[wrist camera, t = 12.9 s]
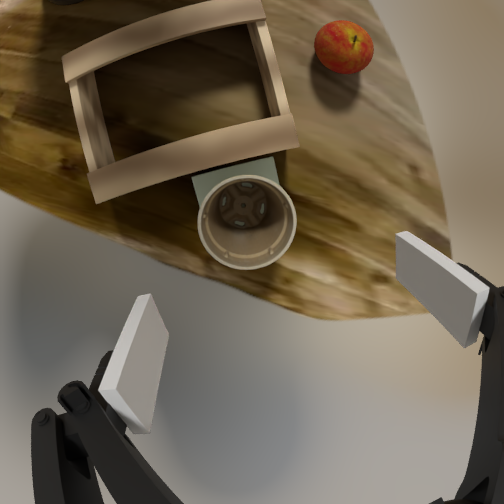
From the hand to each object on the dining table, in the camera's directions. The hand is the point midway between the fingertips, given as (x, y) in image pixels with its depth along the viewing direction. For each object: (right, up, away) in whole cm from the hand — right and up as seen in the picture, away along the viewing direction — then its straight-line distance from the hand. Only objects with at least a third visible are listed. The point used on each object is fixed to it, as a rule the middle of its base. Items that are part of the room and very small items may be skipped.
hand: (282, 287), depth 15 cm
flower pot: (-3, +8, +21) cm, 23 cm away
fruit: (+9, +27, +16) cm, 32 cm away
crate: (-10, +20, +16) cm, 28 cm away
